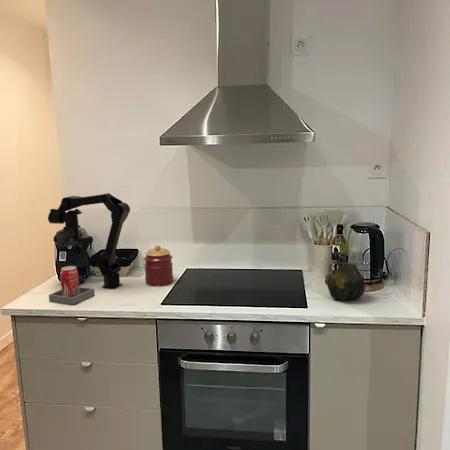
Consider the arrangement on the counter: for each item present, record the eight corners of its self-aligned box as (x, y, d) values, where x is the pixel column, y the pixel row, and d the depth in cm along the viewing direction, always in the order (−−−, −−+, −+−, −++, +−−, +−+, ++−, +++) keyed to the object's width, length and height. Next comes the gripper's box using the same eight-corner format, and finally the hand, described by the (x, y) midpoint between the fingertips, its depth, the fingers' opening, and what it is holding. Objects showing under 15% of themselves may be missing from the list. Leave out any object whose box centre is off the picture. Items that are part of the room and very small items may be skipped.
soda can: (82, 294, 205) (80, 265, 203) (76, 300, 198) (73, 270, 196) (67, 294, 206) (64, 265, 203) (59, 300, 199) (57, 270, 196)
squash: (314, 284, 195) (337, 261, 186) (334, 277, 205) (356, 255, 197) (336, 312, 189) (360, 290, 180) (355, 304, 199) (379, 282, 191)
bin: (94, 295, 205) (94, 288, 204) (73, 305, 193) (73, 298, 193) (71, 292, 210) (70, 285, 210) (49, 301, 199) (48, 294, 198)
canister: (161, 288, 213) (159, 249, 209) (139, 284, 219) (137, 246, 216) (179, 280, 223) (177, 243, 220) (157, 276, 230) (155, 241, 227)
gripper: (42, 226, 213) (46, 259, 216) (75, 228, 205) (78, 263, 208) (60, 221, 223) (63, 254, 226) (92, 223, 215) (95, 257, 218)
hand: (74, 257), depth 219 cm, fingers open, 9 cm apart
